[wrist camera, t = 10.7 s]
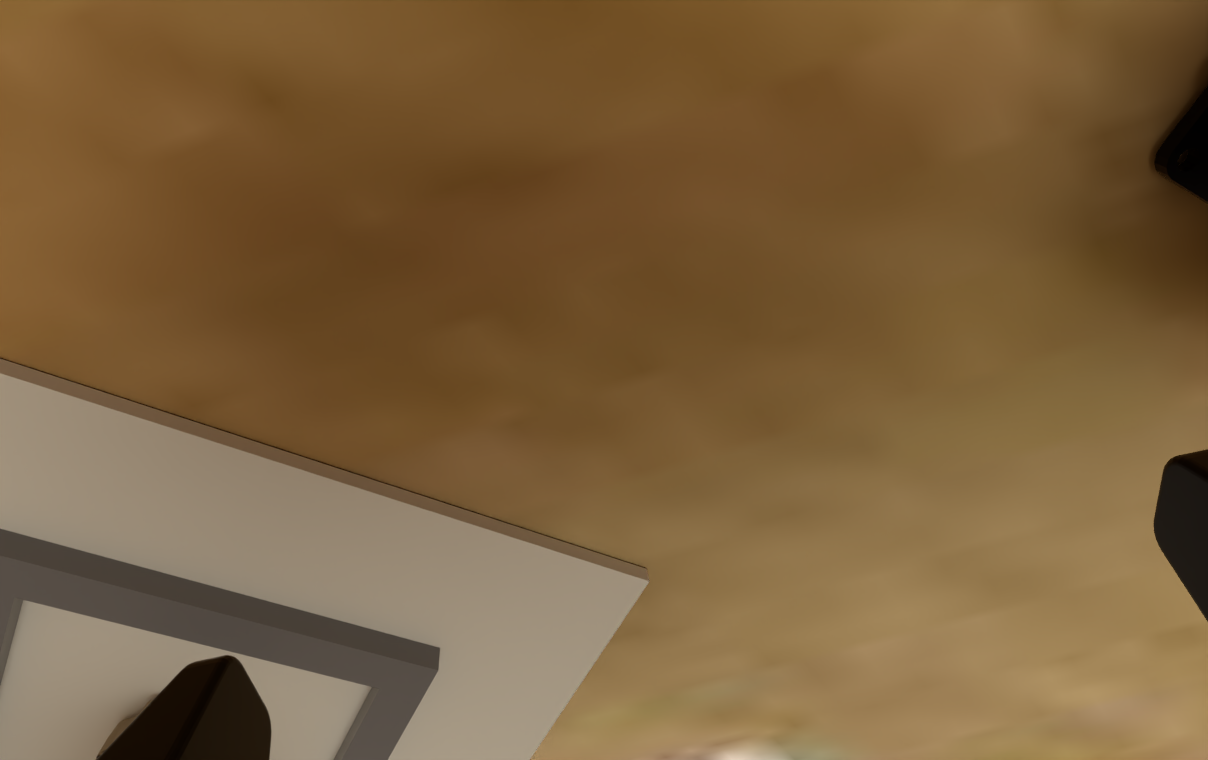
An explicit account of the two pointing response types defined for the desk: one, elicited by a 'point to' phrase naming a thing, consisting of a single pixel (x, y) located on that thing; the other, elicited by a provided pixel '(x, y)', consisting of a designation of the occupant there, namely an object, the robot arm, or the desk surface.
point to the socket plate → (272, 591)
